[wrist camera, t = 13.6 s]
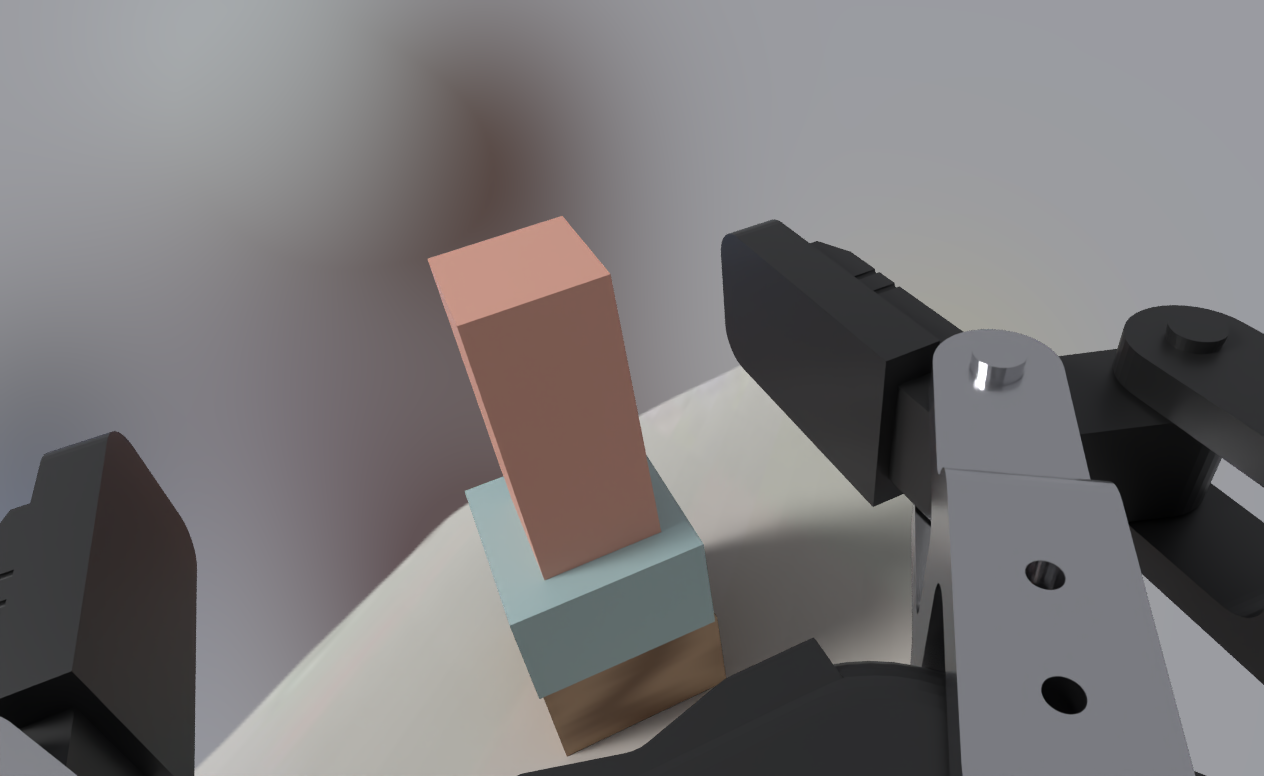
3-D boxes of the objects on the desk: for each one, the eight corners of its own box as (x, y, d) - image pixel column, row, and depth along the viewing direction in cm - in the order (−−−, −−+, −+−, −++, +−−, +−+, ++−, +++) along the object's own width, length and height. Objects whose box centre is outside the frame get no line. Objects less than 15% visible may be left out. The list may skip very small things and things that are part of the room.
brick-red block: (544, 580, 32) (456, 326, 25) (511, 499, 36) (427, 258, 29) (661, 531, 33) (610, 274, 26) (617, 458, 37) (562, 215, 30)
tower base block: (567, 757, 37) (543, 696, 34) (519, 624, 43) (494, 562, 40) (726, 682, 38) (716, 617, 35) (658, 564, 45) (645, 500, 42)
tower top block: (539, 699, 34) (509, 625, 31) (493, 563, 40) (464, 491, 37) (715, 621, 35) (703, 544, 32) (644, 502, 41) (629, 428, 38)
